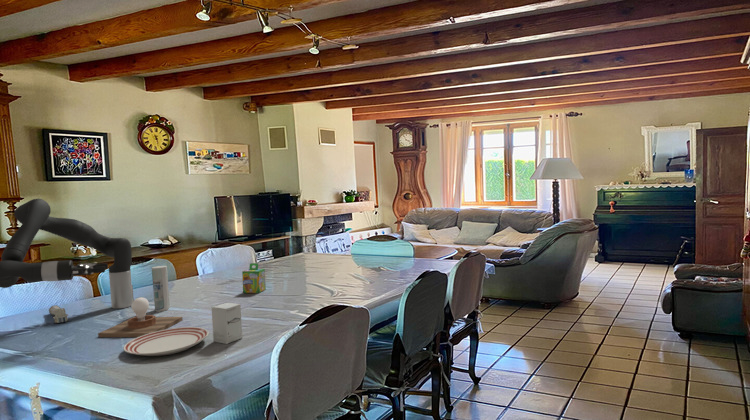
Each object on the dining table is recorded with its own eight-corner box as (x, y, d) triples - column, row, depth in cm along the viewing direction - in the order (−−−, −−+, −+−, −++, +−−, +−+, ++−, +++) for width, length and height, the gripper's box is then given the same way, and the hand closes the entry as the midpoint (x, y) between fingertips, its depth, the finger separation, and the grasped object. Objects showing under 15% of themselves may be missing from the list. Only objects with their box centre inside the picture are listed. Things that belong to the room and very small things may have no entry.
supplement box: (227, 344, 169) (224, 308, 168) (212, 341, 173) (210, 306, 172) (243, 338, 175) (241, 303, 174) (229, 335, 179) (227, 302, 178)
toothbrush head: (59, 304, 229) (67, 305, 210) (61, 318, 229) (69, 320, 210) (46, 306, 226) (53, 307, 207) (48, 320, 225) (55, 323, 206)
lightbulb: (136, 322, 197) (134, 296, 196) (152, 321, 198) (150, 295, 197) (130, 327, 191) (128, 300, 190) (146, 326, 191) (144, 299, 190)
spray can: (151, 311, 222) (148, 267, 221) (162, 307, 228) (159, 265, 227) (162, 311, 220) (159, 268, 219) (173, 308, 226) (170, 265, 225)
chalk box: (242, 293, 251) (241, 265, 250) (250, 289, 260) (248, 262, 259) (259, 293, 249) (257, 264, 249) (266, 289, 258) (264, 261, 258)
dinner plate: (124, 368, 151) (123, 357, 151) (123, 344, 175) (123, 335, 175) (215, 350, 164) (214, 340, 163) (203, 330, 188) (202, 322, 188)
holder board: (134, 320, 207) (133, 311, 206) (182, 320, 204) (181, 310, 203) (98, 337, 185) (97, 326, 185) (151, 336, 182) (151, 326, 182)
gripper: (53, 263, 176) (103, 260, 183) (61, 258, 189) (108, 255, 196) (53, 284, 177) (104, 280, 183) (61, 277, 190) (108, 274, 196)
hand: (106, 267), depth 189 cm, fingers open, 8 cm apart
